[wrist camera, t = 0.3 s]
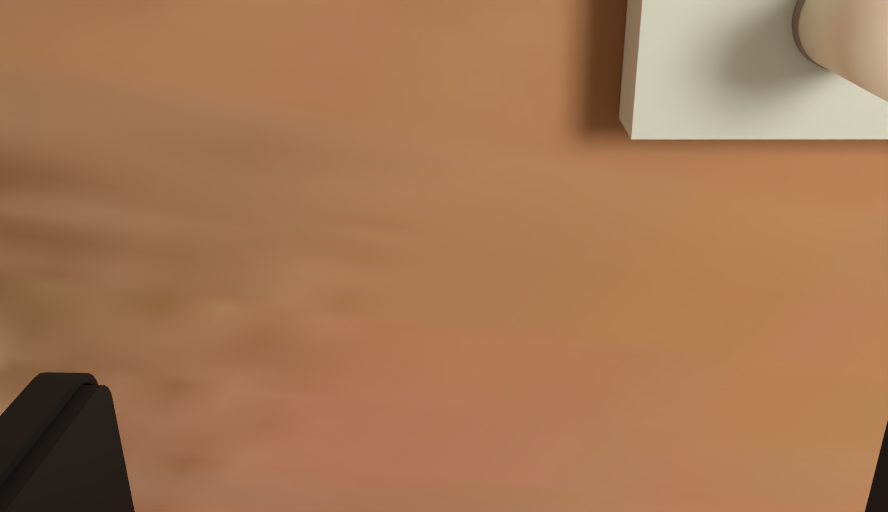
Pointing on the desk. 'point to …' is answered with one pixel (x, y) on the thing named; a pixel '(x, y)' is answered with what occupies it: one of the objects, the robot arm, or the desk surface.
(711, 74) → the board
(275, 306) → the desk surface
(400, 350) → the desk surface
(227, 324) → the desk surface
